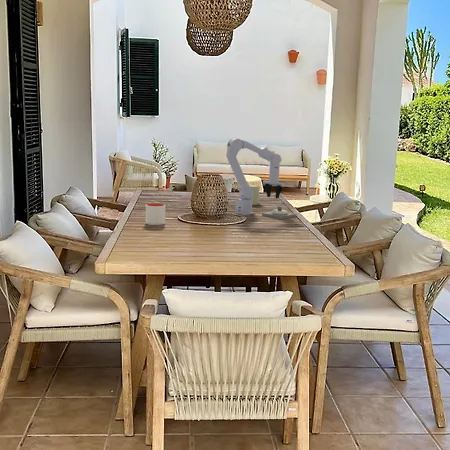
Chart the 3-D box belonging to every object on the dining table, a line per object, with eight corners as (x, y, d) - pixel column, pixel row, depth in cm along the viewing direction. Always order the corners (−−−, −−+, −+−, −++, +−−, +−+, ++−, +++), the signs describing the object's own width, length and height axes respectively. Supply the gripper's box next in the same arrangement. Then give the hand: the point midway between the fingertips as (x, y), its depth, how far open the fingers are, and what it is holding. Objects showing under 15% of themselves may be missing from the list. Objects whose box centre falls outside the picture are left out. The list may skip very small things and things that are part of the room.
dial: (288, 214, 344) (288, 208, 344) (272, 214, 344) (272, 208, 343) (285, 211, 355) (285, 205, 354) (270, 211, 355) (270, 205, 354)
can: (259, 205, 386) (260, 186, 383) (244, 204, 386) (245, 185, 384) (258, 202, 395) (259, 184, 393) (244, 202, 395) (245, 183, 393)
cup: (141, 224, 309) (141, 205, 307) (152, 221, 318) (153, 202, 316) (157, 226, 305) (158, 207, 303) (168, 223, 313) (169, 204, 311)
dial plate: (281, 219, 339) (281, 216, 339) (262, 215, 348) (262, 212, 348) (296, 216, 349) (296, 213, 349) (277, 213, 358) (277, 210, 358)
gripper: (288, 175, 350) (287, 198, 353) (268, 172, 360) (267, 195, 362) (280, 175, 345) (279, 199, 348) (261, 173, 355) (260, 196, 357)
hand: (272, 197), depth 355 cm, fingers open, 6 cm apart
